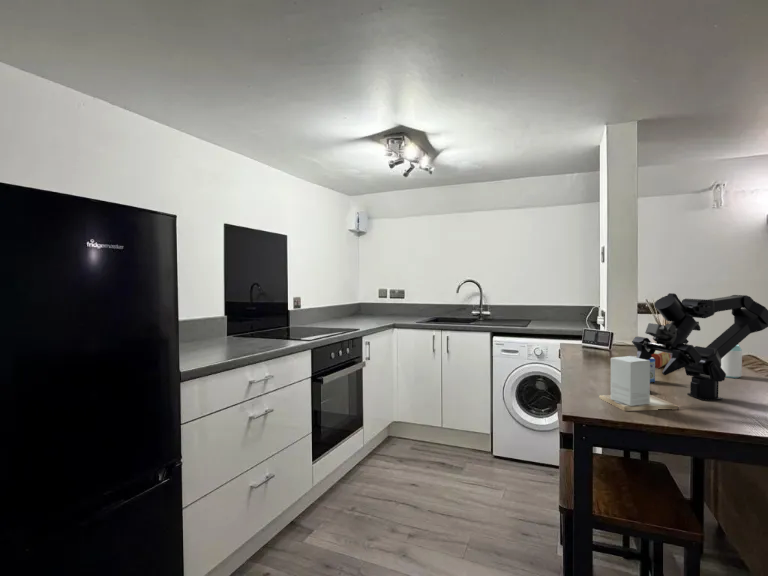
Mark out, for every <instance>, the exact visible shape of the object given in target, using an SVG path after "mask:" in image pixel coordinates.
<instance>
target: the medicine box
mask: <svg viewBox="0 0 768 576" xmlns="http://www.w3.org/2000/svg"><path fill="white" fill-rule="evenodd" d="M629 356H630V357H635V358H637V355H629ZM649 360H650V383H651V382H654V383H655V382H656V368H655V359H654V358H653V357H651V358H650V359H649Z"/></svg>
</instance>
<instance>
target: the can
mask: <svg viewBox="0 0 768 576" xmlns="http://www.w3.org/2000/svg"><path fill="white" fill-rule="evenodd" d="M742 363H743V349H742V348H741V347H740V345H739V344H738V345H736V346H735V347H734V348H733V349H732V350H731V351H730V352H728V353H727V354H726V355H725V356H724V357H723V358H722V359H721V368H722V370H723V371H724V372H725V373H726V376H725V378H726V379H727V378H728V379H739V378H741V377H742V372H743V371H742V368H743V364H742Z"/></svg>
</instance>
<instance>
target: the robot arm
mask: <svg viewBox="0 0 768 576" xmlns="http://www.w3.org/2000/svg"><path fill="white" fill-rule="evenodd" d="M654 308H655V309H656V310H657V311H658V312H659V314H660V315H661V316H662V317H663V318H664V320H665V321H667V322H669V323H666V324H665V325H663V324H659V323H653V322H652V323H651V322H649V323H648V325H647V327H646V329H645V332H644V333H645V334H646V335H649V336H651V337H652V340H653V341H654V342H656V343H654V342H652V341H651V340H650V339H649V338H648V337H643V336H635V337H634V338H633V340H632V341H631V343H632V344H633V345H634V347H635V348H636V349H637V353H636V356H637V358H640V359H645V360H649V359H650V358H651V357H652V356H651V355H652V354H654V353H655V350H656V351H662V352H665V353H670V354H672V358H671V359H670V361H669V362H668V364H666V365H664V366H665V367H664V368H663V369H662V372H661V374H662V375H663V376H667V375H669V374H672V373H673V372H676V371H678V370H680V369H683V368H684V371H685V375H686V376H687V377H689V376H690V377H691V381H690V384H689V385H690V388H689V389H690V392H687V395H688V396H690V397H693V398H695V399H699V400H701V401H722V400H724V399H723V397H720V396H719V383H721V382H722V381H725V380H726V377H725V376H726V373H725V372H724V371H723V370H722V368H721V359H722V358H723V357H724V356H725V355H726V354H727V353H728V352H730V351H731V350H732V349H733V348H734V347H735V346H736V345H739V344H740V343H741V342H742V341H743V340H744V339H745V338H747V337H748V336H749V335H750V334H753V333H758V332H762V331H763V330H765V329H767V328H768V309H767V307H766V306H764V305H762V304H760V303H759V302H757V301H755V300H754V299H753V298H752V297H751V296H748V295H746V294H742V295H741V294H733V295H728V296H723V297H717V298H716V297H715V298H709V299H704V298H703V299H701V298H684V299H679V296H678V295H677V294H676V293H668V294H667V295H665V296H662V297H660V298H659V299H657V300H656V301H655V303H654ZM724 311H731V315H732V316H733V321H734V322H733V324H732V325H730V326H729V327H728V328H727V329H725V330H724V331H723V332H722V333H721V334H720V335H719V336H717V337H716V338H714V340H712V342H711V343H709V344H708V345H706V347H705V346H698V345H695V346H694V345H693V344H688V343H689V340H688V337H689V336H690V335H691V333H692V332H693V331H697V332H698V331H700V332H701V330H702V328H701V326H700V323H699V321H697V320H695V318H698V319H707V318H710V317H712V316H714V315H715V313H718V312H719V313H720V312H724Z"/></svg>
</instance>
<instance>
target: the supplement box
mask: <svg viewBox="0 0 768 576" xmlns="http://www.w3.org/2000/svg"><path fill="white" fill-rule="evenodd" d="M630 356H631V355H627V356H625V355H624V356H616V357H610V395H611V399H612V400H615V401H618V402H621V403H624V404H627V405H630V406H634V405H643V404H649V403H650V395H651V393H650V392H651V390H650V388H651V387H650V386H651V382H650V360H645V359H640V358H635V357H630Z"/></svg>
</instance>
